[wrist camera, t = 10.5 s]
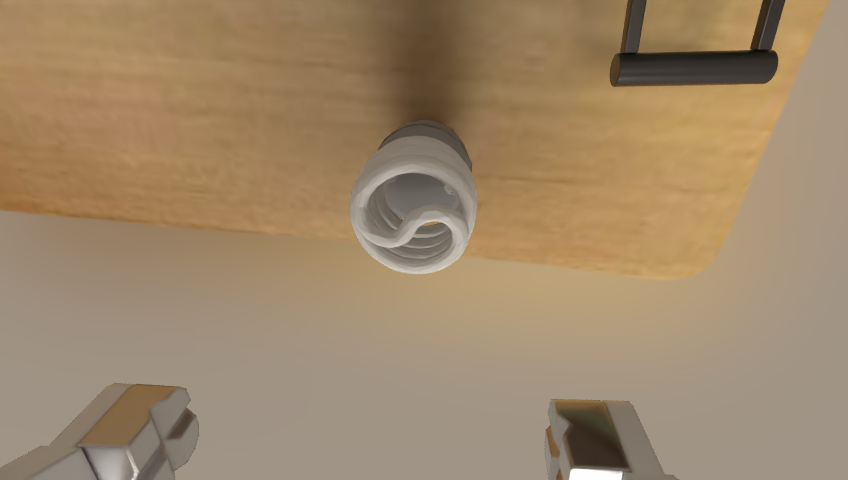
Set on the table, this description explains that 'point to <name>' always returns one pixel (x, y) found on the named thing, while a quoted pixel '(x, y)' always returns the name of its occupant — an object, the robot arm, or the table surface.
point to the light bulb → (415, 199)
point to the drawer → (696, 56)
